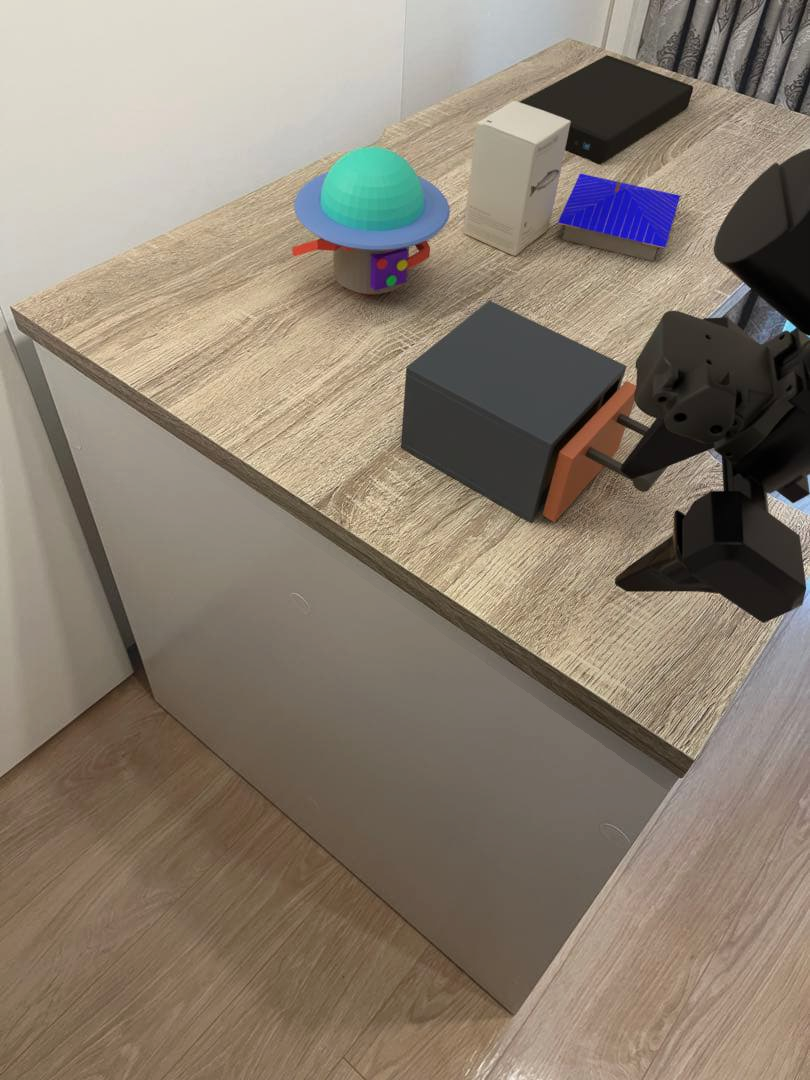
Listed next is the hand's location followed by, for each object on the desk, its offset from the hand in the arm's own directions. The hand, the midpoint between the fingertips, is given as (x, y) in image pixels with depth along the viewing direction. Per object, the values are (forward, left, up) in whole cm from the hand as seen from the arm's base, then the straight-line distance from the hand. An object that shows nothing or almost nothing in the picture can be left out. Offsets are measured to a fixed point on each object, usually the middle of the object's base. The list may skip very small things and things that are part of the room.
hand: (623, 526), depth 52 cm
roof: (-30, -51, -13) cm, 60 cm away
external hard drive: (-41, -76, -13) cm, 88 cm away
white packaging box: (-17, -53, -13) cm, 57 cm away
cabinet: (-3, -21, -13) cm, 25 cm away
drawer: (-5, -17, -12) cm, 21 cm away
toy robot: (+1, -47, -13) cm, 49 cm away
